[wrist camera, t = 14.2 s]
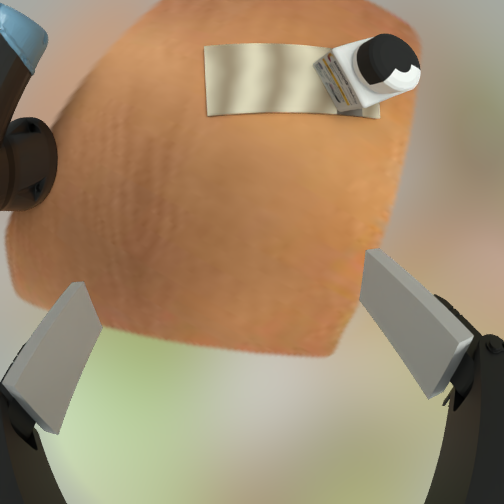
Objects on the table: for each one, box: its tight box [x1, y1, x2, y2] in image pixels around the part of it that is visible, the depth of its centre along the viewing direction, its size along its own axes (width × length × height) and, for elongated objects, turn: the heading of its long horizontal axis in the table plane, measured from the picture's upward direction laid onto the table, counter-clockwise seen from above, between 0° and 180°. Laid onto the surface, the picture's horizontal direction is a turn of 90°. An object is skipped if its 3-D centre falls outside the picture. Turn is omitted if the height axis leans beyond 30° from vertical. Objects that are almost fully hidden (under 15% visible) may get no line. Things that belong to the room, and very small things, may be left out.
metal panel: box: [204, 43, 380, 119], centre depth 30 cm, size 24×10×1 cm, turn 93°
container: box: [313, 34, 420, 112], centre depth 24 cm, size 8×8×13 cm
